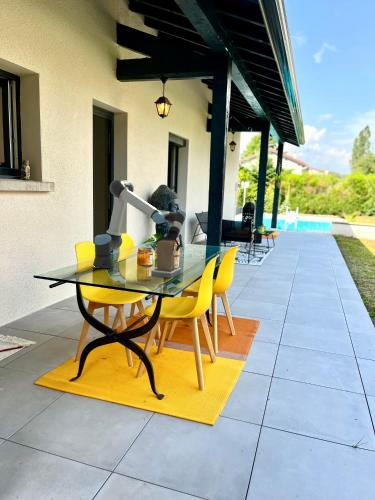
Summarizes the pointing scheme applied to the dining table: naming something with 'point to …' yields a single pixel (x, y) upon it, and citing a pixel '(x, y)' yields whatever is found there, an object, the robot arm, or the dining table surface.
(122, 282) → the dining table surface
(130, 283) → the dining table surface
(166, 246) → the block
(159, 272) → the baseplate
